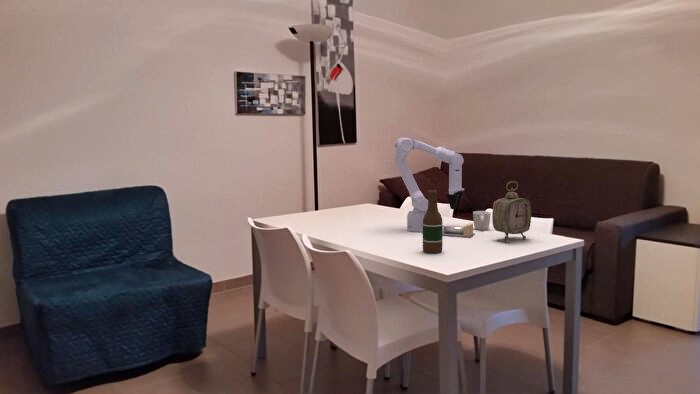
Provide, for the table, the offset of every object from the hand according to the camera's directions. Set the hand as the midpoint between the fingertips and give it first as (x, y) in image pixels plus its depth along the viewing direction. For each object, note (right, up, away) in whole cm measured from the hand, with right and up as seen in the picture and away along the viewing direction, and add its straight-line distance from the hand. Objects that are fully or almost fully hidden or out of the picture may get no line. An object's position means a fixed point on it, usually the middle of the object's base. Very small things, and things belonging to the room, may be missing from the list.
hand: (455, 208), depth 256 cm
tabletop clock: (+18, -13, -25) cm, 34 cm away
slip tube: (-2, -12, -13) cm, 18 cm away
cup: (+12, -10, -2) cm, 16 cm away
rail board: (-4, -12, -12) cm, 17 cm away
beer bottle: (-17, -16, -43) cm, 49 cm away
